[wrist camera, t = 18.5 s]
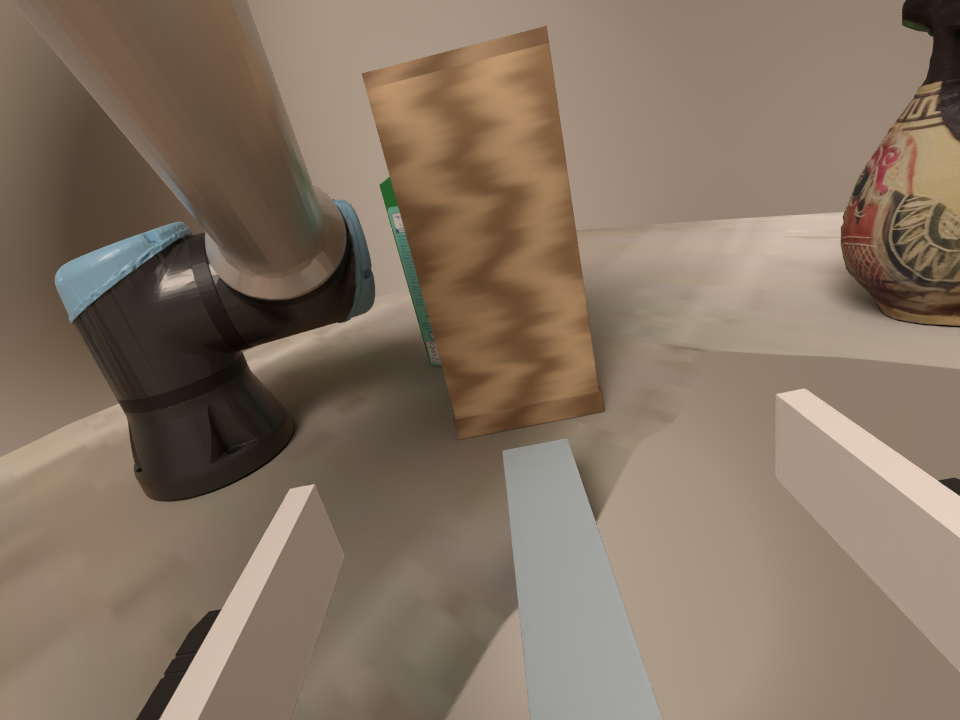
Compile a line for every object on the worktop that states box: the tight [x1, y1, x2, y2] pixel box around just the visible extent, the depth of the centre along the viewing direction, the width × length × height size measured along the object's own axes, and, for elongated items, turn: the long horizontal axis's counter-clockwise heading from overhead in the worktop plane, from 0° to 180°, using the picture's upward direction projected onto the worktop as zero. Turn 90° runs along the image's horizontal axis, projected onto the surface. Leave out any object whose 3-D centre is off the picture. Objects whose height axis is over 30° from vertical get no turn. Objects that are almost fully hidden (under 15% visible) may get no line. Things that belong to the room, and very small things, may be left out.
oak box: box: [362, 26, 604, 440], centre depth 44 cm, size 13×10×30 cm
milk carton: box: [380, 177, 441, 366], centre depth 59 cm, size 9×9×25 cm
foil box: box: [503, 438, 663, 720], centre depth 23 cm, size 5×24×5 cm, turn 1°
